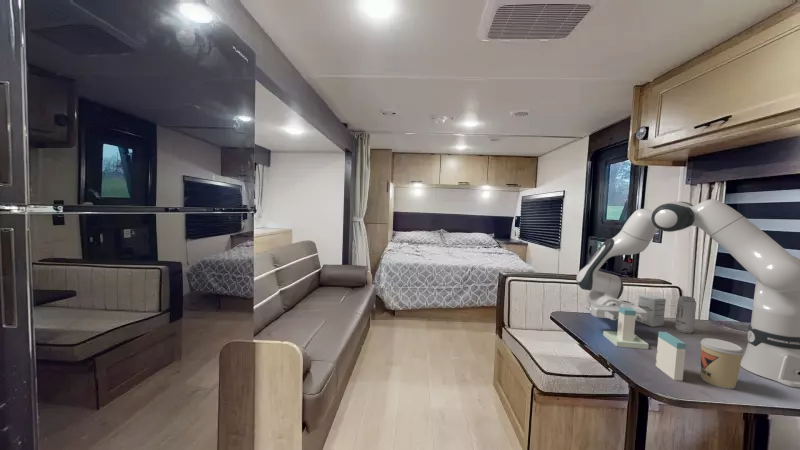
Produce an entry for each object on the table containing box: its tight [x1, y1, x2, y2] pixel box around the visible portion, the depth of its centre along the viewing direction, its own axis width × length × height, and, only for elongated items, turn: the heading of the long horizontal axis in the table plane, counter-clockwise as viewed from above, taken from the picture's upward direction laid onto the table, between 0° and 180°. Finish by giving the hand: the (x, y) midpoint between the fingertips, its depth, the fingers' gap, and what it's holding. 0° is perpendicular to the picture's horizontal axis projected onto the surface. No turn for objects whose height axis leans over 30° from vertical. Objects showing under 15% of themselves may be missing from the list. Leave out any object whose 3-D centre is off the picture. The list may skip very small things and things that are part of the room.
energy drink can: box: [675, 295, 697, 334], centre depth 142 cm, size 6×6×15 cm
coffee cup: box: [700, 337, 744, 390], centre depth 101 cm, size 9×9×12 cm
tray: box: [602, 330, 649, 350], centre depth 130 cm, size 11×11×2 cm
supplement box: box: [637, 293, 667, 328], centre depth 151 cm, size 7×7×13 cm
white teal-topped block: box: [616, 307, 636, 341], centre depth 129 cm, size 4×4×12 cm
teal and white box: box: [655, 331, 687, 382], centre depth 106 cm, size 3×9×12 cm, turn 172°
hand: (627, 319), depth 128 cm, fingers open, 8 cm apart
